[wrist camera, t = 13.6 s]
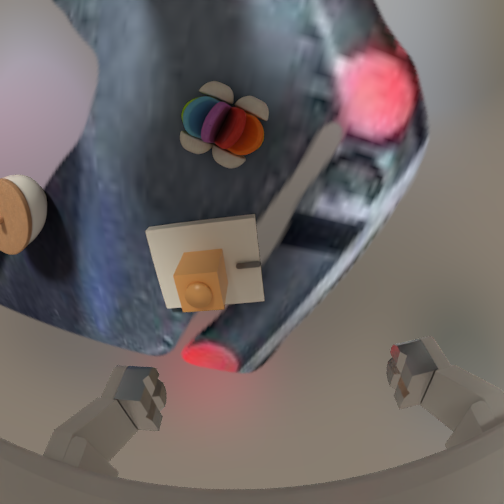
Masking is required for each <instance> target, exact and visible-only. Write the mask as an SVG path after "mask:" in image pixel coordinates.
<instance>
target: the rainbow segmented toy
mask: <svg viewBox="0 0 504 504" xmlns="http://www.w3.org/2000/svg"><path fill="white" fill-rule="evenodd" d="M199 92H201V93H203V94H205V95H207V96H202V97H197V98H194V99H192V100H190V101H189V102H188V103H187V104H186V105H185V106H184V108H183V110H182V114H181V117H182V122H183V125H184V128H185V130H186V131H181V132H180V142H181V144H182V146H183V148H184V149H186V150H187V151H190V152H192V153H195V154H202V153H205V152H207V151H209V150H210V149H211V148H212V154H213V158H214V160H215V161H216V162H217V163H218V164H220V165H222V166H224V167H227V168H236V167H239V166H240V165H242V164H243V163H244V162H245V160H246V158H245V157H244V156H242V155H247V154H250V153H252V152H253V151H255V150H257V149H258V148H259V147H260V146H261V145H262V143H263V140H264V130H263V126H262V124H261V122H260V121H259V120H258V119H257V118H260V119H262V120H264V121H267V120H268V117H269V110H268V107H267V105H266V103H264V102H263V101H261V100H259V99H257V98H255V97H253V96H245V97H242V98H240V99H239V100H238V101H237V102H236V103H235V104H234V105H235V106H236V107H237V108H236V107H231V106H230V105H228V104H233V102H234V95H233V92H232V90H231V88H230V87H229V86H227V85H225V84H222V83H220V82H217V81H211V82H208V83H206V84H204V85H203V86H202V87H201V88H200V89H199ZM214 143H215V144H214Z"/></svg>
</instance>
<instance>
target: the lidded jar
mask: <svg viewBox="0 0 504 504" xmlns="http://www.w3.org/2000/svg"><path fill="white" fill-rule="evenodd" d="M46 216H47V198H46V195H45V192H44V190H43V189H42V187H41V186H39V184H38V183H37V182H36V181H35V180H33V179H32V178H30V177H28V176H24V175H11V176H7V177H4V178H1V179H0V250H1V251H2V252H4V253H7V254H18V253H19V252H21V251H22V250H23V249H24V248H26V246H27V245H29V244H30V243H31V242H32V241H33V240H34V239H35V238H36V237H37V236H38V234H39V233H40V231H41V230H42V228H43V226H44V224H45V221H46Z"/></svg>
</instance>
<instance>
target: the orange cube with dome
mask: <svg viewBox="0 0 504 504" xmlns="http://www.w3.org/2000/svg"><path fill="white" fill-rule="evenodd" d="M173 277H174V281H175V285H176V289H177V292H178V296H179V299H180V303H181V307H182V310H183V312H194V311H209V310H223V309H225V301H226V294H227V287H228V279H227V274H226V268H225V262H224V256H223V250H222V249H213V250H203V251H193V252H184V253H183V255H182V258H181V260H180V262H179V264H178V266H177V268H176V270H175V273H174V275H173Z"/></svg>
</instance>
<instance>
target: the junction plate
mask: <svg viewBox="0 0 504 504" xmlns="http://www.w3.org/2000/svg"><path fill="white" fill-rule="evenodd" d="M146 235H147V239H148V243H149V247H150V251H151V255H152V259H153V262H154V266H155V269H156V273H157V277H158V280H159V283H160V287H161V290H162V294H163V297H164V300H165V303H166V307H167V308H182V307H181V303H180V299H179V296H178V292H177V289H176V285H175V281H174V277H173V275H174V273H175V270H176V268H177V266H178V264H179V262H180V260H181V258H182V255H183V253H184V252H193V251H203V250H213V249H222V250H223V256H224V262H225V268H226V274H227V279H228V287H227V294H226V301H225V305H226V304H238V303H250V302H261V301H264V290H263V281H262V272H261V262H260V255H259V245H258V237H257V228H256V219H255V214H250V215H241V216H232V217H223V218H214V219H206V220H197V221H189V222H181V223H174V224H166V225H159V226H151V227H148V229H147V230H146Z"/></svg>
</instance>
